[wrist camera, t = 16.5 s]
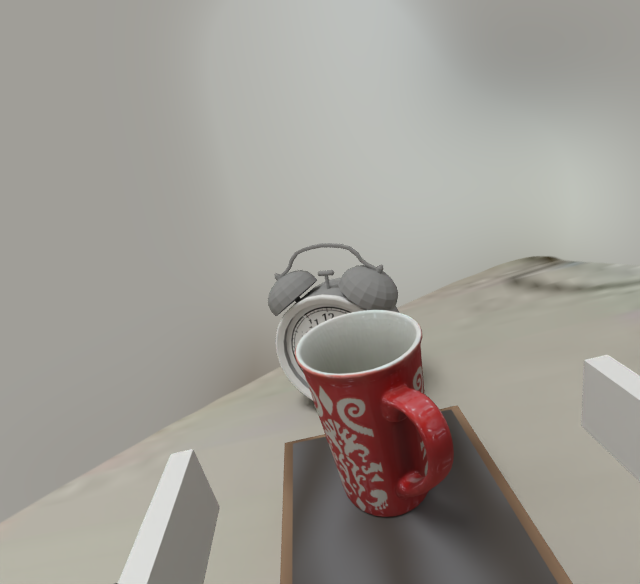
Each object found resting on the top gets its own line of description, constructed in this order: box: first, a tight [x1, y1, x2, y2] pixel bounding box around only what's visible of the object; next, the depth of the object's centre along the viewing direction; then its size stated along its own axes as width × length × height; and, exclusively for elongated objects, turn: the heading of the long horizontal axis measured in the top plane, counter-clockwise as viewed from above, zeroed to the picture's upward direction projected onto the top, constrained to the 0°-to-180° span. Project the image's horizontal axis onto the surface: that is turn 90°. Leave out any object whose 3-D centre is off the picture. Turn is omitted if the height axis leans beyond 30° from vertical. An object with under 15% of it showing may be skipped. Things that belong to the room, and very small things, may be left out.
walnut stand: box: [280, 406, 573, 584], centre depth 30 cm, size 18×18×6 cm
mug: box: [295, 310, 454, 517], centre depth 27 cm, size 13×9×14 cm
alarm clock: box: [268, 243, 399, 408], centre depth 47 cm, size 16×9×22 cm, turn 69°
